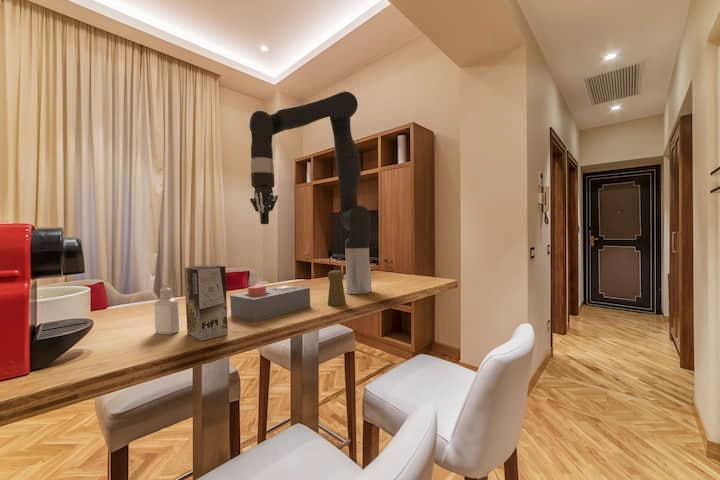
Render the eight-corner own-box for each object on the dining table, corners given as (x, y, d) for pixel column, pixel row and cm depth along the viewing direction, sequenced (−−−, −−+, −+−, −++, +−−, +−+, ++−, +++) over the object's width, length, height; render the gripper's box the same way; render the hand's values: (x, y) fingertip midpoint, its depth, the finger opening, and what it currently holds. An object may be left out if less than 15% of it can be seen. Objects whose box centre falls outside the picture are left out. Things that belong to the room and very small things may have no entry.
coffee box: (229, 334, 72) (226, 266, 71) (200, 342, 67) (197, 268, 67) (213, 327, 78) (211, 264, 78) (186, 333, 73) (183, 266, 73)
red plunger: (260, 305, 92) (259, 285, 92) (270, 307, 89) (269, 286, 89) (245, 308, 88) (244, 287, 88) (255, 310, 85) (254, 289, 85)
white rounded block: (286, 303, 100) (286, 285, 100) (297, 305, 97) (296, 286, 97) (274, 306, 96) (273, 287, 96) (284, 308, 93) (283, 289, 93)
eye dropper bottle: (159, 337, 71) (157, 286, 71) (154, 332, 75) (152, 283, 75) (180, 332, 74) (178, 283, 74) (174, 328, 78) (172, 281, 78)
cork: (347, 301, 102) (346, 269, 102) (344, 306, 96) (343, 271, 96) (329, 302, 103) (328, 269, 103) (325, 306, 97) (324, 271, 97)
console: (286, 302, 104) (285, 284, 104) (310, 306, 97) (309, 287, 97) (231, 315, 89) (230, 295, 89) (254, 322, 81) (253, 299, 81)
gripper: (284, 171, 102) (285, 223, 103) (260, 177, 111) (262, 225, 111) (264, 168, 97) (266, 223, 97) (241, 174, 105) (243, 225, 105)
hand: (264, 224), depth 104 cm, fingers closed
